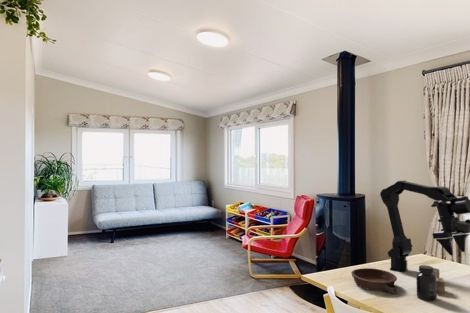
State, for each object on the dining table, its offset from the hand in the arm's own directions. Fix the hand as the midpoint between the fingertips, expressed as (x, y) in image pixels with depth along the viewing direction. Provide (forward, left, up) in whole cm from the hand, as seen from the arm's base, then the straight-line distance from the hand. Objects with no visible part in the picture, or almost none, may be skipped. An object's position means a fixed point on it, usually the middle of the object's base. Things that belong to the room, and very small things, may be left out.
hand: (457, 253), depth 144 cm
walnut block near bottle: (-6, -10, -14) cm, 18 cm away
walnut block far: (-10, +3, -14) cm, 18 cm away
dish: (-28, -19, -15) cm, 37 cm away
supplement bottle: (-8, -20, -14) cm, 26 cm away
